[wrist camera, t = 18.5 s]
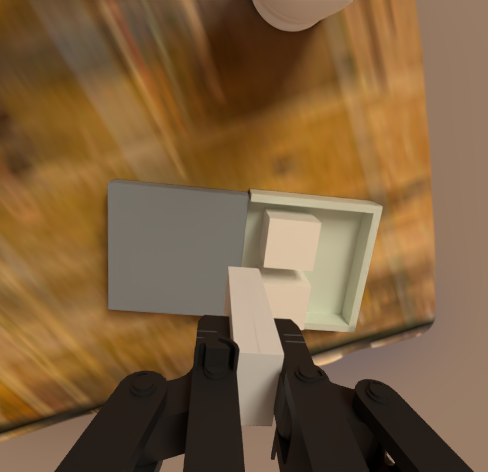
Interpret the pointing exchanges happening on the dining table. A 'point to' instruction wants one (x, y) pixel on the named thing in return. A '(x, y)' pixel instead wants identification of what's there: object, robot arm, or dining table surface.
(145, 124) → the dining table surface
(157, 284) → the board
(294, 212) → the block
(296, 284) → the block
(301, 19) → the jar
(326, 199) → the tray
